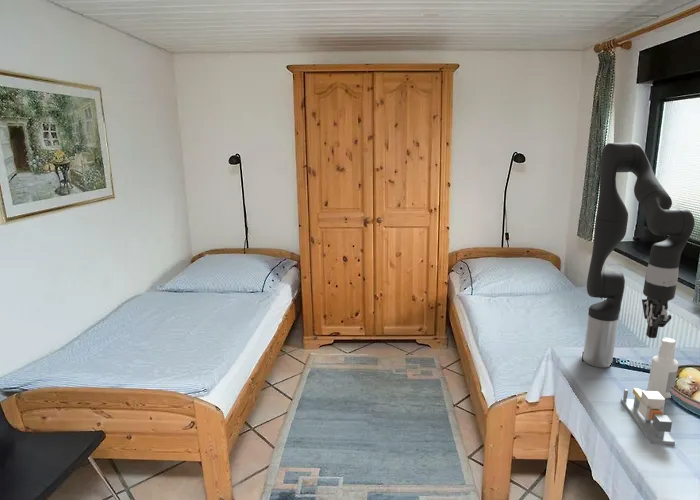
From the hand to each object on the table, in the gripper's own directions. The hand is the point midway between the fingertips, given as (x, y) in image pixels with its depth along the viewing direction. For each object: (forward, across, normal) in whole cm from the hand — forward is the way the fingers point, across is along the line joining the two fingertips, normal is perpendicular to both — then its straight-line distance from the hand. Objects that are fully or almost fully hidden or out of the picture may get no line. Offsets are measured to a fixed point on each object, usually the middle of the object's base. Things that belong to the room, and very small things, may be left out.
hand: (651, 336), depth 140 cm
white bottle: (+22, -7, +9) cm, 25 cm away
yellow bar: (+18, +10, -2) cm, 21 cm away
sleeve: (+19, +11, -2) cm, 22 cm away
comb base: (+22, +9, -2) cm, 24 cm away
